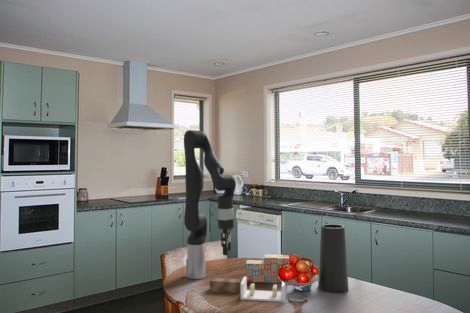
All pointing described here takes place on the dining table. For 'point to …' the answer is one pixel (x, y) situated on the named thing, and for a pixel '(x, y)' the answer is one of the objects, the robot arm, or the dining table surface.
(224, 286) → the plank
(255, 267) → the stack of blocks
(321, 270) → the vase
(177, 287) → the dining table surface
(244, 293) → the peg stand
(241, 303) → the dining table surface
